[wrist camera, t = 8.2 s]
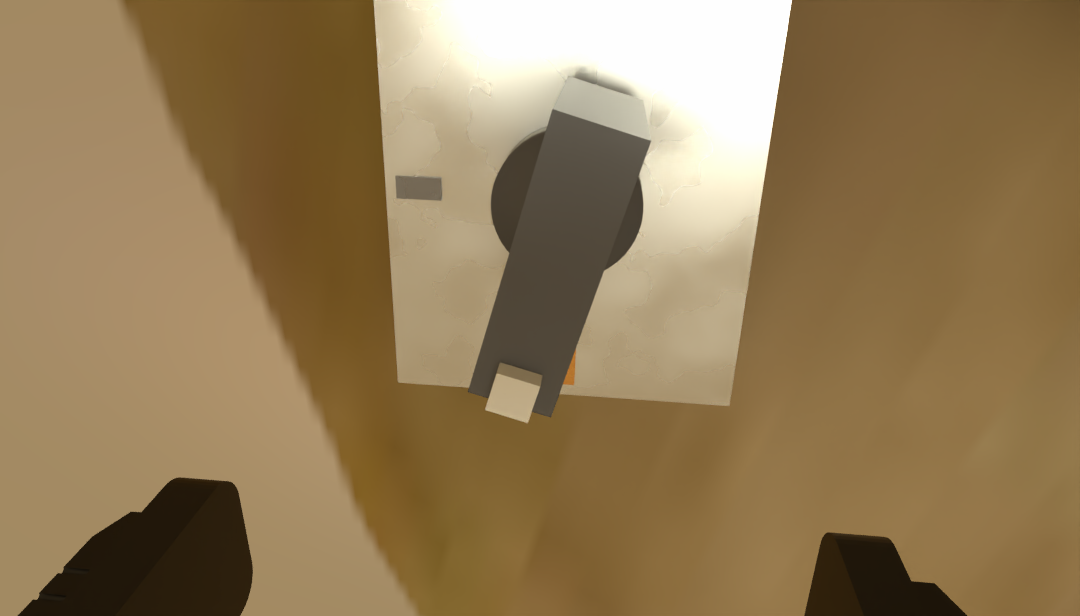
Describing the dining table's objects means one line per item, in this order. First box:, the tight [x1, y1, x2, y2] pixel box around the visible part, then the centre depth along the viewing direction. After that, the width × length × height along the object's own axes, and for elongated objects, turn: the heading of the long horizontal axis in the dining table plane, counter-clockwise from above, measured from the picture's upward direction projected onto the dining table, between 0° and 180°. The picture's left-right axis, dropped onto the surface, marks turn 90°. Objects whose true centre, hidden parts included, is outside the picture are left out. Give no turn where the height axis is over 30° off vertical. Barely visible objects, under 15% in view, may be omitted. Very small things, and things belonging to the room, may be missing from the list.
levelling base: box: [374, 0, 792, 406], centre depth 25 cm, size 13×18×6 cm
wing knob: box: [468, 76, 651, 423], centre depth 22 cm, size 8×5×8 cm, turn 163°
